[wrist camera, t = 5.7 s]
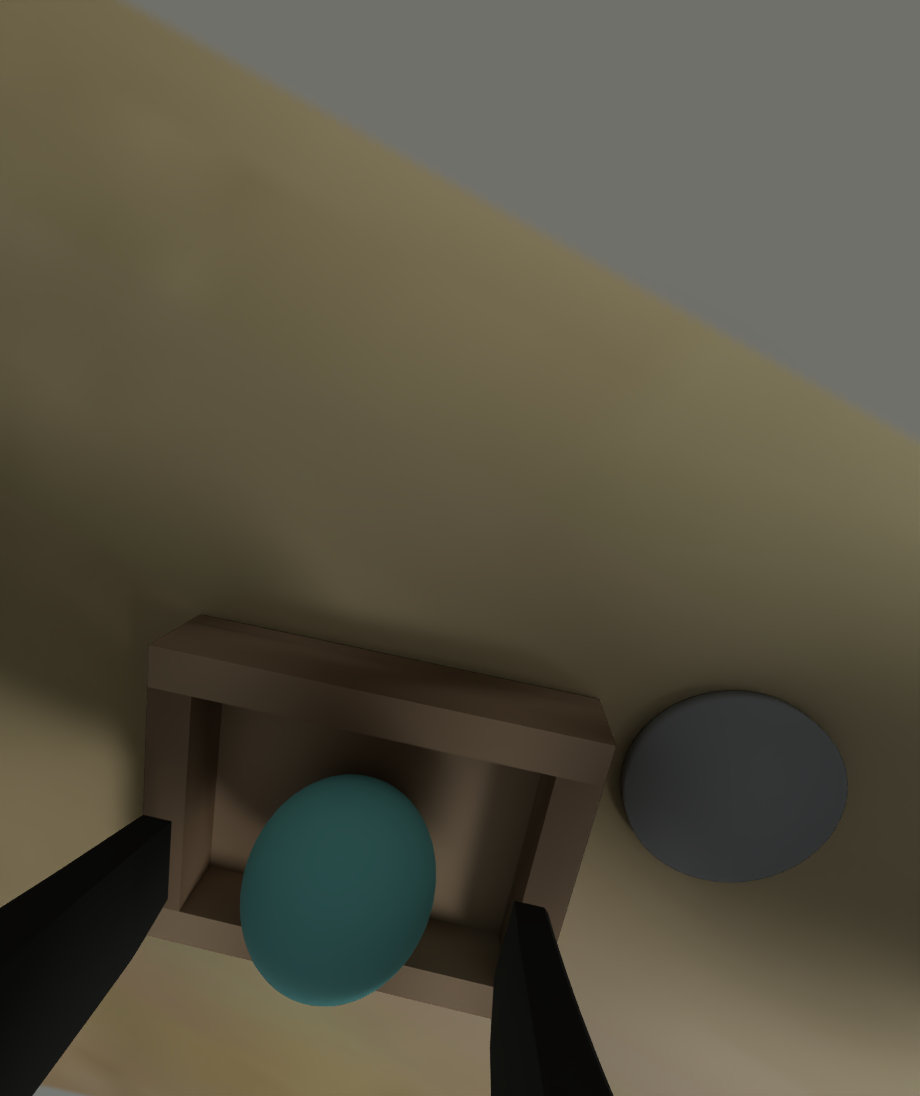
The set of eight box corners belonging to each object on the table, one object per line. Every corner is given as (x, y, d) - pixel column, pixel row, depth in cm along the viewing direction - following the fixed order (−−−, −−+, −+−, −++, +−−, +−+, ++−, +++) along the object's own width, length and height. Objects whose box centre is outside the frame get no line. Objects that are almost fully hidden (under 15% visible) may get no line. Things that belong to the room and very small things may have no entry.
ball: (464, 762, 12) (427, 926, 8) (436, 891, 13) (390, 1094, 9) (308, 720, 12) (198, 854, 8) (291, 848, 13) (187, 1023, 9)
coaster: (869, 715, 11) (882, 726, 11) (793, 887, 12) (803, 902, 12) (652, 670, 11) (657, 678, 11) (598, 843, 12) (602, 856, 12)
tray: (599, 699, 12) (616, 745, 10) (527, 951, 13) (531, 1028, 12) (200, 614, 12) (148, 644, 10) (184, 870, 14) (139, 933, 12)
